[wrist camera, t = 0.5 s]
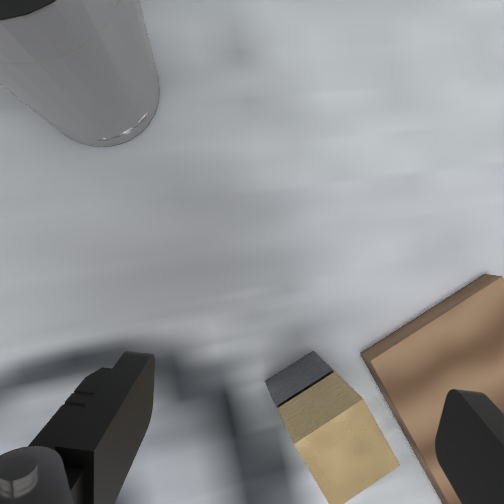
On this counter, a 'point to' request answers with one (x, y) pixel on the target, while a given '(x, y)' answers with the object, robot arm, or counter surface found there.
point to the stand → (442, 366)
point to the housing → (331, 428)
